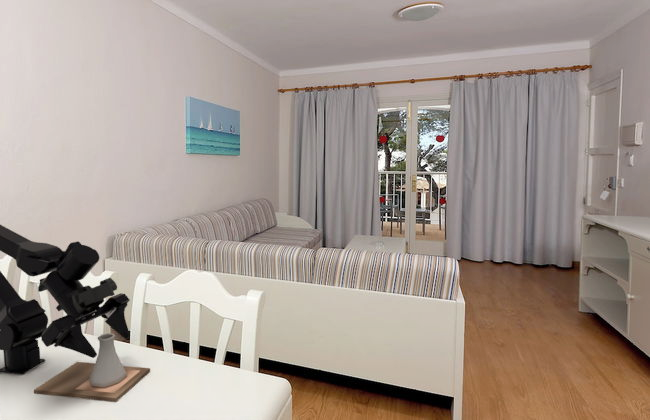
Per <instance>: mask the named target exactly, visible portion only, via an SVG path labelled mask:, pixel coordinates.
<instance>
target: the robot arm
mask: <svg viewBox="0 0 650 420" xmlns="http://www.w3.org/2000/svg"><path fill="white" fill-rule="evenodd" d="M0 252H2V253H4V254H5V255H7V256H9V257H10V258H12V259H14V260H15V263H16V267H17V268H18V269H20V270H21V271H22V272H23V273H25V274H26V275H28V277H29V276H30V277H37V276H41V275H45V274H47V273H48V274H47V276H45V277H43V278H40V279H39V284H38V287H37V291H38V292H39V293H41V292H44V291H48V293H49V294H50V296H52V297H53V299H54V300H55V301H56V303H57V306H56V307H55V309H56V310H57V312H60V311H62V310H63V311H64V313H65V314H66V315H64V316H61V317H59V318H56V319H55V320H52V321H51V323H49V318H48V315H47V313H45V312H46V309H44V308H42V306H41V305H40V303H39V301H38V300H37V299H35V298H33V299H31V300H25V299H23V298H22V297H21V296H20V295H19V293H18V292H17V290H15V288H14V286H13V285H12V284H11V283H10V282H9V280H8V279H7V278H6V276H5V275H4V274H3V273H2V271H1V270H0V351H3V362H4V366H3V367H1V368H0V373H3V374H11V375H12V374H14V375H23V374H26V373H27V372H29V371H31V370H32V369H34V368H36V367H37V366H40V365H41V364H43V363H45V362H46V359H45V358H41V353H40V352H41V351H40V350H41V349H40V346H39V339H40V338H41V342H42V343H43V344H44V346H45V347H46V348H47V347H50V346H54V348H57V347H62V348H66V349H69V350H71V351H74V352H77V353H80V354H82V355H84V356H87V357H90V358H92V359H94V358H97V357H98V354H97V352H96V349H95V348H94V347H93V346H92V344H91V343H90V342H89V340H88V339H87V337H86V336H85V335H84V333H83V330H82V325H84V324H86V323H88V322H90V321H92V320H94V319H95V320H96V319H97V318H99V317H101V318H103V319H106V320H105V321H104V323H106V324H107V325H108V326H109V327H110V328H112V329H113V330H114V331H115V332H116V333H118V335H120V336H121V338H124V339H126V340H127V339H129V338H130V336H131V335H130V331H129V327H128V325H127V322H126V316H125V310H126V308H127V307H128V303H129V302H130V301H131V299H130V298H129V297H128V295H126V293H119V294H115V291H117V290H118V286H117V283H116V282H115V281H114V279H112V278H111V277H107V278H105V279H104V280H101V281H99V285H97V286H94V287H92V286H90V285H85V286H84V285H83V284H82V283H81V280H83V279H85V278H86V276H87V275H88V274H89V273H90V271H92V269H93V268H94V267H95V266H96V265H97V263H99V261H100V254H99V252H98V251H97V250H96V249H94V248H92V247H91V246H88V245H86V244H82V243H81V242H80V241H73V242H70V243H69V244H68V246H67V247H66V248H65V250H62V249H61V248H60V247H59V246H57V245H54V244H50V243H48V242H47V243H46V242H40V241H39V242H37V241H33V240H30V239H28V238H27V237H25V236H22V235H21V234H19V233H17V232H15V231H13V230H11V229H10V228H7V227H6V226H5V225H2V224H0ZM108 297H109V298H108ZM106 298H108V299H107V300H106V301H105V300H104V299H106ZM100 305H102V306H100ZM48 323H49V325H48Z"/></svg>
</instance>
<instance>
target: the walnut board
mask: <svg viewBox="0 0 650 420" xmlns="http://www.w3.org/2000/svg"><path fill="white" fill-rule="evenodd" d="M95 363H96V362H95ZM95 363H94V362H86V361H85V362H84V361H83V362H82V361H75V363H73V364H71V365H70V366H68V367H67V368H65V369H64V370H62V371H60V372H59V373H58V374H56V375H55V376H53V377H51V378H50V379H49V380H47V381H45V382H44V383H42V384H40V385H39V386H38V387H35V388H34V389H33V394H38V395H45V396H46V395H48V396H57V397H66V398H76V399H84V400H94V401H105V402H113V403H116V402H118V401H119V400H120V399H121V398H122V397H124V396H125V394H127V393H128V392H129V391H130V390H131V389H133V388H134V387H135V386H136V384H138V383H139V382H141V380H143V378H145V377H146V376H147V375H148V374H149V373H151V367H150V368H149V367H141V366H128V365H123V367H124V369H125V371H126V373H127V375H128V376H126V377H125V378H124V379H123V380H121V381H120V382H119V383H116V384H113V385H110V386H107V387H96V386H92V385H91V383H90V382H89V379H90V376H91V373H92V371H93V368H94V366H95Z"/></svg>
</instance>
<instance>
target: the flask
mask: <svg viewBox="0 0 650 420" xmlns="http://www.w3.org/2000/svg"><path fill="white" fill-rule="evenodd" d="M115 338H116V335H115V334H114V333H110V332H109V333H104V334H101V335H100V336H97V340H98V343H99V347H98V354H97V356H96V360H95V366H94V368H93V371H92V373H91V376H90V379H89V382H90V383H91V385H92V386H96V387H107V386H110V385H113V384H116V383H119V382H120V381H121V380H123V379H124V378H125V377H126V376H128V375H127V373H126V371H125V369H124V367H123V366H124V365H123V363H122V362H121V360H120V357H119V355H118V353H117V351H116V346H115V342H114V341H115V340H114V339H115Z"/></svg>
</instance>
